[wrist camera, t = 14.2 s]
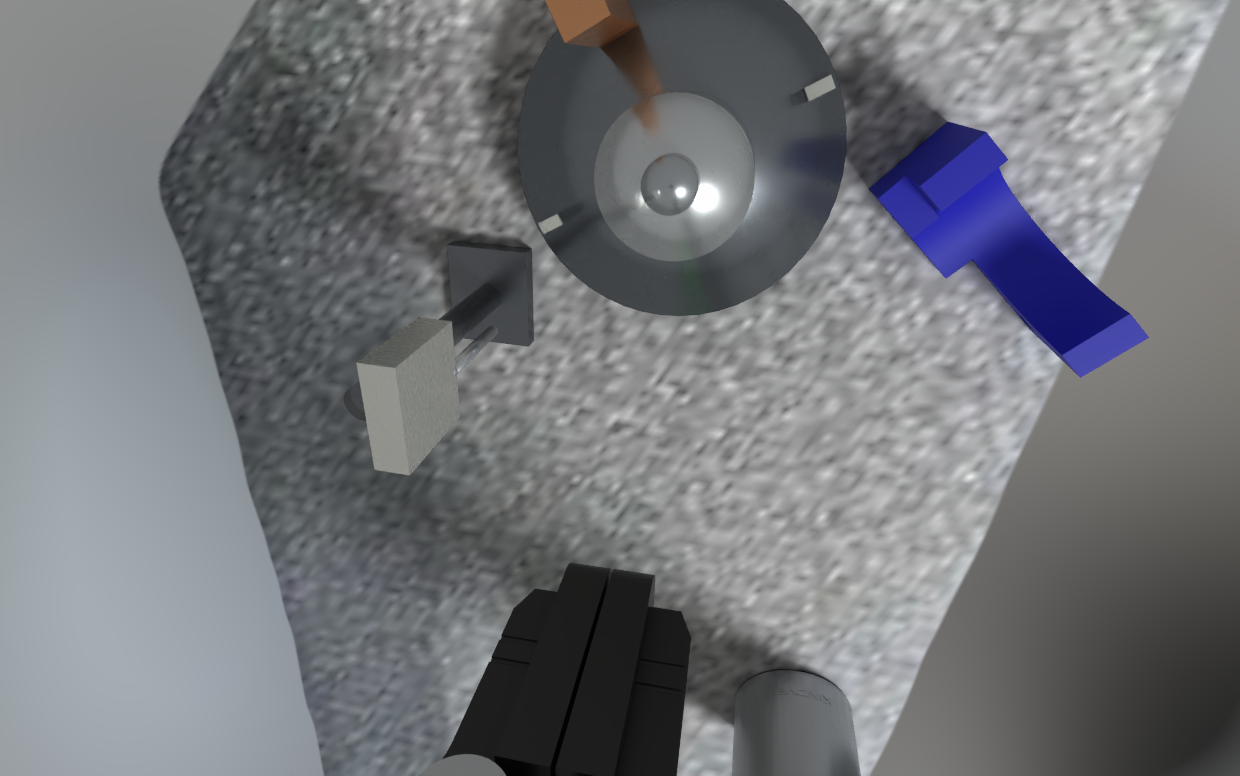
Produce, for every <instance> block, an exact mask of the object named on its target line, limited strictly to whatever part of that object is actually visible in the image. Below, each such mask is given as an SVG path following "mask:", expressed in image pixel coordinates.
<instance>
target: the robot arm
mask: <svg viewBox="0 0 1240 776" xmlns="http://www.w3.org/2000/svg"><path fill="white" fill-rule="evenodd" d="M654 591H655V575H650V574H643V573H637V572H630V571H624V570H617V569H614V570H613V571H612V570H611V569H609V568H602V567H596V566H589V565H583V564H576V563H570V564H569V565H568V567H567V569H566V571H565V574H564V576H563V579H562V582H561V584H560V587H559V589H558V592H553V591H547V590H541V589H534V590H533V591H532V592H531V593H530V594H529V595H528V596H527V597H526V598H525V599H524V600H523V601H522V602H521V603H519V604H518V605H517V606H516V607H515V608H514V609H513V611H512V614H511V616H510V618H509V620H508V622H507V624H506V627H505V629H504V631H503V633H502V638H501V640H499V642H498V644H497V646H496V648H495V651H494V653H493V655H492V659H491V662H489V664H488V666H487V668H486V670H485V672H484V674H483V677H482V679H481V681H480V683H479V685H478V687H477V690H476V692H475V694H474V696H473V698H472V700H471V703H470V705H469V707H468V709H467V711H466V714H465V716H464V718H463V720H462V722H461V724H460V727H459V729H458V731H457V733H456V735H455V737H454V740H453V742H452V744H451V746H450V748H449V749H448V751H447V753H446V755H445V756H444V757H443V759H442V760H440V761H438V762H436V763H434V764H433V765H431V766H430V767H428V768H427V769H426V770H424V771H423V772H422V773H421V774H420V775H419V776H677V767H678V758H679V748H680V739H681V730H682V720H683V711H684V701H685V692H686V682H687V672H688V663H689V653H690V643H691V637H690V634H689V631H688V629H687V626H686V623H685V621H684V618H683V615H682V613H681V612H680V611H674V610H668V609H661V608H655V607H653V606H654ZM732 776H861V774H860V767H859V760H858V752H857V745H856V738H855V731H854V724H853V717H852V710H851V707H850V704H849V701H848V700H847V698H846V697H845V695H844V694H843V693H842V692H841V691H840V690H839V689H838V688H837V687H836V686H835V685H833V684H831V683H830V682H828V681H827V680H825V679H822V678H820V677H818V676H816V675H812V674H809V673H805V672H800V671H792V670H777V671H771V672H765V673H762V674H760V675H757V676H754V677H753V678H751V679H749V680H748V681H746V682H745V683H744V684H743V685H742V686H741V687H740V689H739V691H738V693H737V694H736V700H735V716H734V742H733V764H732Z"/></svg>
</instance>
